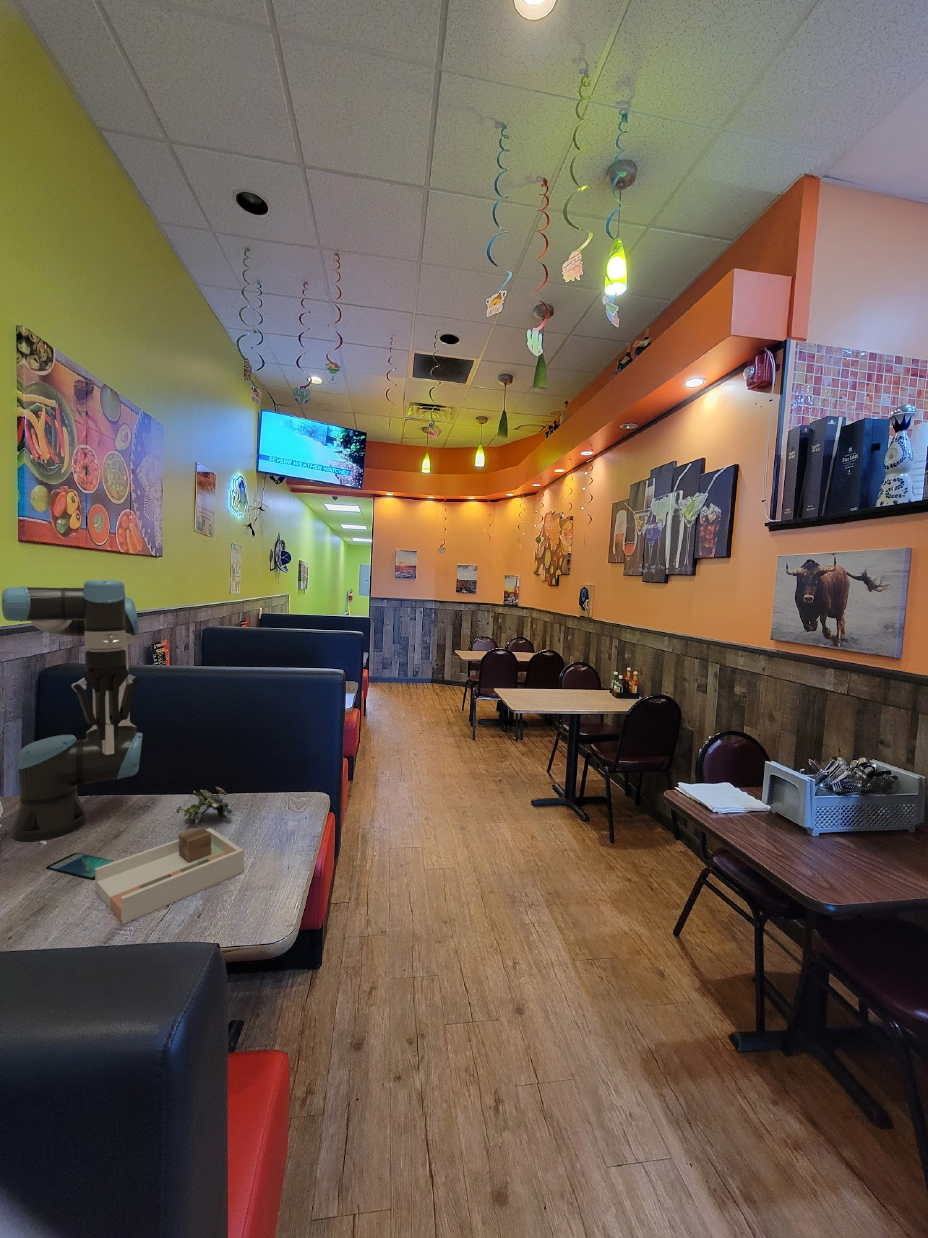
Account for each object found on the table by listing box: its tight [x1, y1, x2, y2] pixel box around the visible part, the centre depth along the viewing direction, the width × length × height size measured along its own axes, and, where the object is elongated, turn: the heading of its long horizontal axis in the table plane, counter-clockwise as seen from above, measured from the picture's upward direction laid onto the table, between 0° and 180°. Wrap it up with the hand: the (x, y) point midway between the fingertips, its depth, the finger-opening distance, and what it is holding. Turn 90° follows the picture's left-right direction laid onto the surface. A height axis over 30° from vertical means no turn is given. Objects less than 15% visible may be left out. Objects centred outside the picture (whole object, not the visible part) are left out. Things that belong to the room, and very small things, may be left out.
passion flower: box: [176, 786, 233, 829], centre depth 140 cm, size 11×11×12 cm
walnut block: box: [178, 826, 211, 863], centre depth 119 cm, size 5×5×5 cm
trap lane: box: [94, 827, 245, 925], centre depth 113 cm, size 16×24×5 cm, turn 141°
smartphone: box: [45, 852, 116, 881], centre depth 118 cm, size 7×1×15 cm
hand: (108, 752), depth 117 cm, fingers closed
